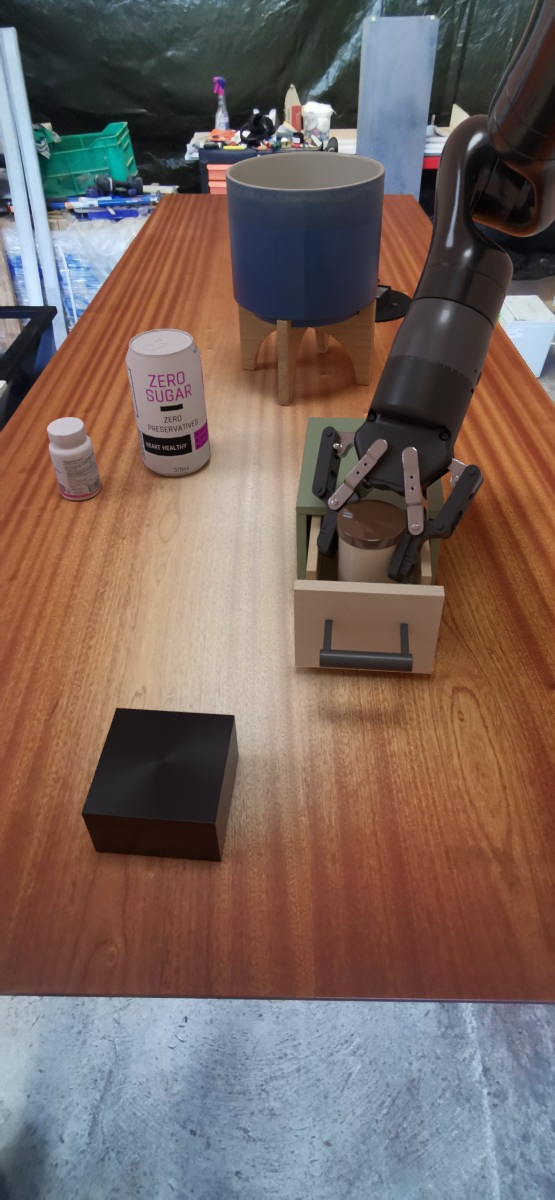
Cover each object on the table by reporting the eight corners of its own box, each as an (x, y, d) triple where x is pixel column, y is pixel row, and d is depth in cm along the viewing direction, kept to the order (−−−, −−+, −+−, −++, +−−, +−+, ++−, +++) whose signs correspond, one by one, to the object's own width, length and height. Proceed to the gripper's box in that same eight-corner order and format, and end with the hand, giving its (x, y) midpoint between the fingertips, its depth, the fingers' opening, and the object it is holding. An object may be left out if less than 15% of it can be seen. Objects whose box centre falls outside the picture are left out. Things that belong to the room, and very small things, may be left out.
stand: (238, 754, 58) (234, 714, 54) (221, 861, 51) (215, 823, 48) (127, 747, 59) (116, 707, 55) (95, 851, 52) (80, 813, 49)
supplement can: (185, 436, 94) (170, 320, 84) (224, 462, 90) (213, 341, 80) (131, 459, 91) (109, 340, 81) (168, 487, 86) (150, 364, 76)
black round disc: (344, 284, 133) (346, 252, 129) (425, 295, 128) (428, 262, 124) (311, 314, 123) (311, 280, 119) (396, 328, 118) (399, 293, 114)
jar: (397, 582, 67) (406, 499, 61) (398, 625, 63) (408, 541, 57) (335, 579, 67) (337, 497, 61) (332, 622, 63) (335, 539, 57)
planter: (265, 341, 116) (258, 148, 98) (385, 355, 111) (400, 154, 93) (218, 396, 102) (199, 184, 85) (352, 415, 97) (362, 194, 80)
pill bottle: (57, 484, 87) (40, 420, 81) (97, 475, 88) (83, 411, 83) (64, 505, 84) (46, 440, 78) (105, 496, 85) (91, 431, 79)
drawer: (434, 717, 59) (449, 639, 53) (290, 709, 60) (288, 631, 54) (423, 564, 73) (433, 488, 67) (306, 559, 74) (306, 484, 68)
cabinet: (431, 604, 70) (445, 511, 63) (297, 598, 71) (295, 506, 64) (423, 507, 82) (434, 419, 74) (308, 503, 83) (308, 416, 76)
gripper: (338, 336, 59) (266, 534, 60) (514, 372, 53) (433, 591, 54) (363, 372, 66) (299, 549, 67) (522, 408, 60) (450, 602, 61)
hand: (359, 567), depth 60 cm, fingers closed on jar, 5 cm apart
